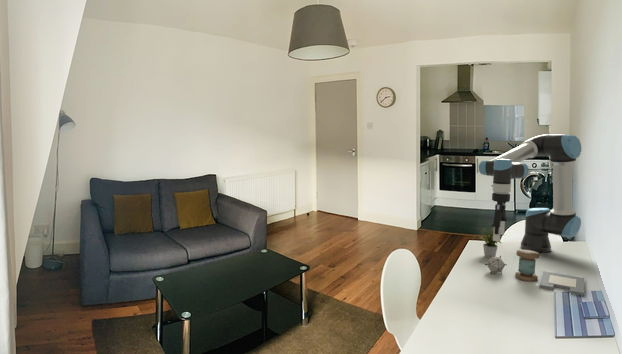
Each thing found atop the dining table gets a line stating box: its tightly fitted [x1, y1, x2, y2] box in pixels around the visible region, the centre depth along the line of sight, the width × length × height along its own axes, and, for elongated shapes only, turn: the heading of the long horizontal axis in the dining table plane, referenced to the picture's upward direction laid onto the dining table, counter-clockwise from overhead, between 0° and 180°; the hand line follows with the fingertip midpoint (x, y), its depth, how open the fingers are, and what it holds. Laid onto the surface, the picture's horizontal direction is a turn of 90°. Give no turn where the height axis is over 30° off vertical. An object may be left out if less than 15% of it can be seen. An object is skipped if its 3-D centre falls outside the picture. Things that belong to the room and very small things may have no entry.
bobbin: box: [514, 249, 540, 283], centre depth 186 cm, size 9×9×12 cm
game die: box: [484, 255, 507, 275], centre depth 193 cm, size 9×8×10 cm
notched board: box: [538, 270, 585, 296], centre depth 179 cm, size 20×16×2 cm
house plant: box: [477, 226, 502, 259], centre depth 217 cm, size 14×14×16 cm
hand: (498, 237), depth 191 cm, fingers open, 13 cm apart
